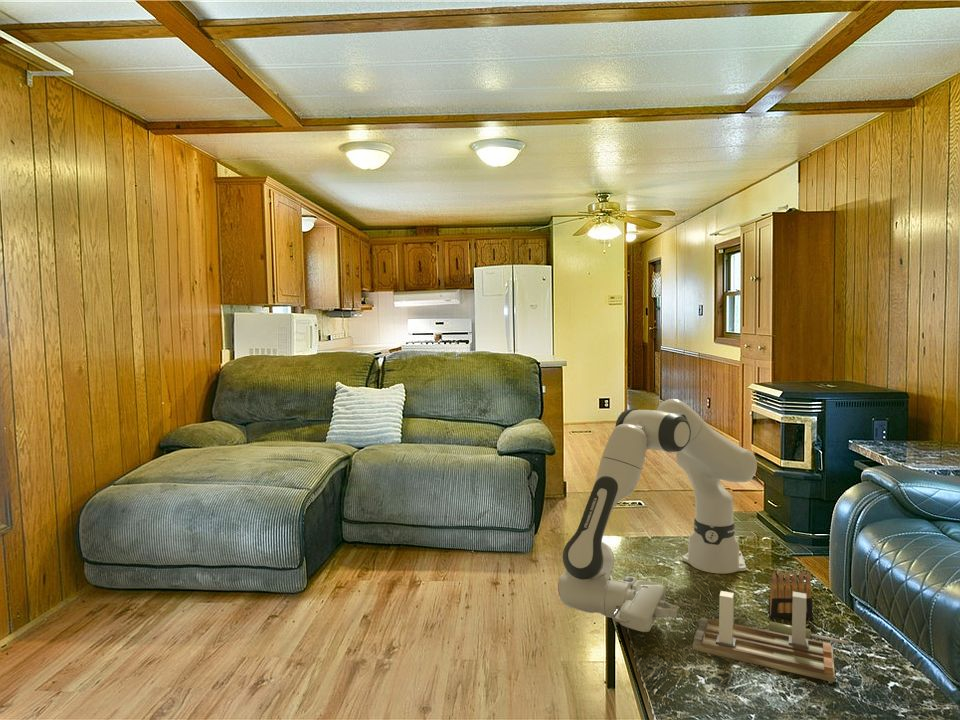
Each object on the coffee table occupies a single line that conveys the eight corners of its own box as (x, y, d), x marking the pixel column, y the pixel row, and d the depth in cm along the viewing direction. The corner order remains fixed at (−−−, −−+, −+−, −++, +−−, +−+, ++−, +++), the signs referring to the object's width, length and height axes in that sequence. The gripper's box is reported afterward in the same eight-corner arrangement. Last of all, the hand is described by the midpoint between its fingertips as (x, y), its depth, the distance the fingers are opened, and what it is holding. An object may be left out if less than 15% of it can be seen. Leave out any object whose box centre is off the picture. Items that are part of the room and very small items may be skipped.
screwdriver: (768, 634, 152) (769, 625, 152) (769, 628, 154) (769, 619, 154) (849, 651, 144) (849, 641, 144) (848, 644, 146) (848, 634, 146)
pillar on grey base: (788, 639, 146) (790, 590, 145) (808, 643, 144) (809, 593, 143) (788, 646, 143) (789, 596, 142) (808, 650, 141) (809, 599, 140)
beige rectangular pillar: (717, 638, 147) (718, 589, 146) (735, 642, 145) (736, 592, 144) (715, 645, 144) (716, 595, 143) (734, 649, 142) (735, 599, 141)
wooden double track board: (700, 625, 156) (700, 615, 156) (832, 652, 143) (832, 642, 143) (692, 649, 145) (692, 639, 145) (834, 682, 132) (835, 671, 131)
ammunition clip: (771, 617, 160) (772, 572, 159) (767, 614, 162) (768, 569, 161) (812, 617, 160) (813, 572, 159) (809, 614, 162) (810, 569, 161)
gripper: (609, 605, 146) (669, 618, 140) (630, 573, 164) (684, 583, 158) (609, 631, 147) (669, 645, 140) (630, 596, 165) (684, 607, 158)
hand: (677, 612), depth 149 cm, fingers closed
